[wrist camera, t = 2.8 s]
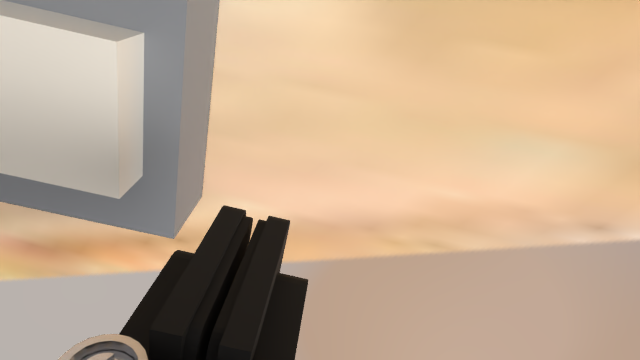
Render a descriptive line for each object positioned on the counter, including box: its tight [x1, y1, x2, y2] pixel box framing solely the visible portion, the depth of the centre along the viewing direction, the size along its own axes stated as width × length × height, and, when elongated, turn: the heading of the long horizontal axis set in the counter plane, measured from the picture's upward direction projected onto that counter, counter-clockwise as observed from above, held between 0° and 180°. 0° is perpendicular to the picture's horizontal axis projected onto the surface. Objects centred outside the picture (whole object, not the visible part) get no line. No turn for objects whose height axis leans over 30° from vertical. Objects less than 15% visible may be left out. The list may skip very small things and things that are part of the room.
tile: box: [0, 0, 144, 199], centre depth 16 cm, size 9×6×2 cm, turn 78°
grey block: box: [0, 0, 219, 239], centre depth 18 cm, size 16×12×4 cm
